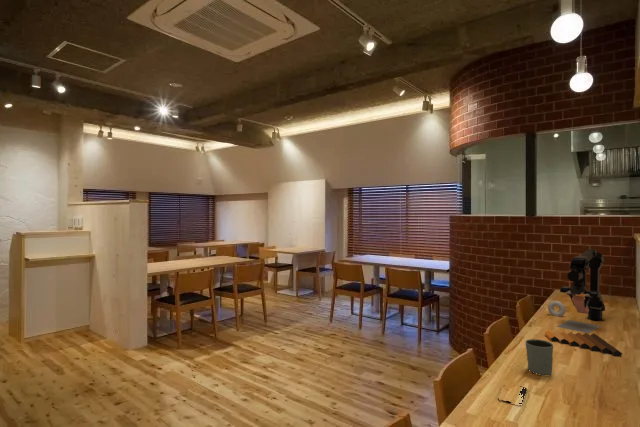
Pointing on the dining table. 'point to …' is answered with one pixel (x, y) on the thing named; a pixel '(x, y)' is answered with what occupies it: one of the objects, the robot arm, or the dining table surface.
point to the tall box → (580, 304)
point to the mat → (579, 326)
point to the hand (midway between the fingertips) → (579, 306)
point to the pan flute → (583, 341)
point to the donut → (559, 304)
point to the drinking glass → (539, 356)
